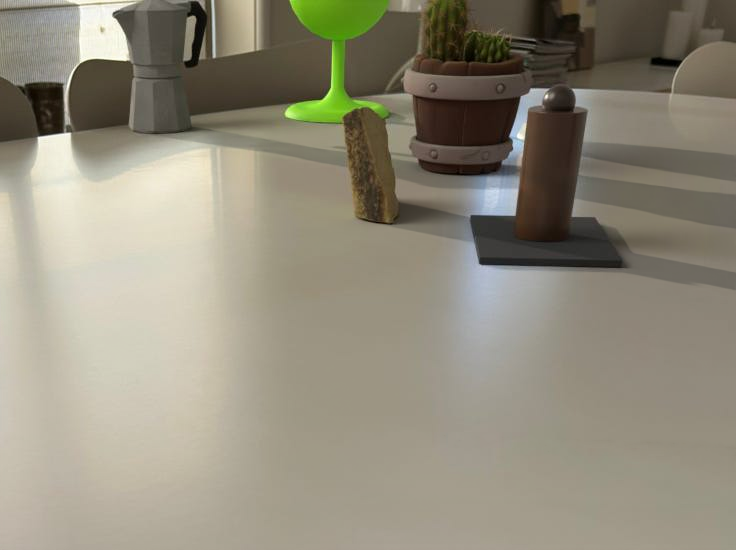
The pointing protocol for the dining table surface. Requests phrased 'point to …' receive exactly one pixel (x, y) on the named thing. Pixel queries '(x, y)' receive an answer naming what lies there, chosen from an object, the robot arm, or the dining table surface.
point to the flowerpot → (463, 93)
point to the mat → (542, 244)
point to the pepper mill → (550, 167)
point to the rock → (370, 166)
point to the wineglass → (336, 52)
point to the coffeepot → (160, 62)
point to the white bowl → (522, 132)
